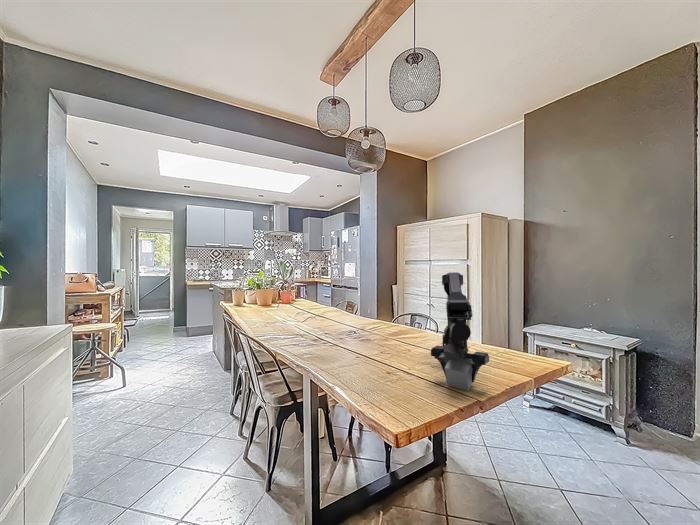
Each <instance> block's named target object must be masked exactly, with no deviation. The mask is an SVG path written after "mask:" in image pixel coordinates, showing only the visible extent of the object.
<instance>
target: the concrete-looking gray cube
mask: <svg viewBox="0 0 700 525" xmlns="http://www.w3.org/2000/svg"><path fill="white" fill-rule="evenodd" d="M472 363H473V361H472V359H467V358H460V359H459V360H458V361H453V360H449V361H448V362H447V364H446V366H445V374H444V376H445V375H446V376H445V380H446V385H447V386H450V387H453V388H456V389H460V390H463V391H467V392H469V391H470V389H471V387H472V385H473V383H474V382H472V365H471V364H472Z"/></svg>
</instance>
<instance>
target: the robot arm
mask: <svg viewBox="0 0 700 525" xmlns="http://www.w3.org/2000/svg"><path fill="white" fill-rule="evenodd" d="M441 285H442V286H443V291H444V292H445V293H446V295H447V296H446V297H447V299H446V300H447V301H446V303H445V310H446V318H447V325H446V327H445V328H444V330H443V334H442V340H441V342H442V345H435V346H434V347H432V348H431V349H430V356H432V357H434V359H436V360H437V361H438V362H439V364H440V366H441V368H442V371H443V374H444V376H445V377H446V375H445V366H446V364H447V362H448V361H449V360H453V361H458V360H459V359H460V358H467V359H472V361H473V363H472V364H471V365H472V382H473V383H475V381H476V377H477V375H478V372H479V370H480V368H481V367H482V366H485V365H486V364H487V363H489V362H490V355H489V354H488V353H487V352H483V351H475V352H474V353H471V352H469V348H468V340H469V338H470V336H471V332H472V331H471V328H470V326H469V325H468V323H467V320H468V321H471V320H472V318H473V310H472V305H471V304H470V302H469V301H468V298H467V296H466V295H464V294H463V293H462V286H463V285H464V275H463V274H461V273H459V272H458V271H457V272H448V273H445V274H443V275H442V276H441Z"/></svg>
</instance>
